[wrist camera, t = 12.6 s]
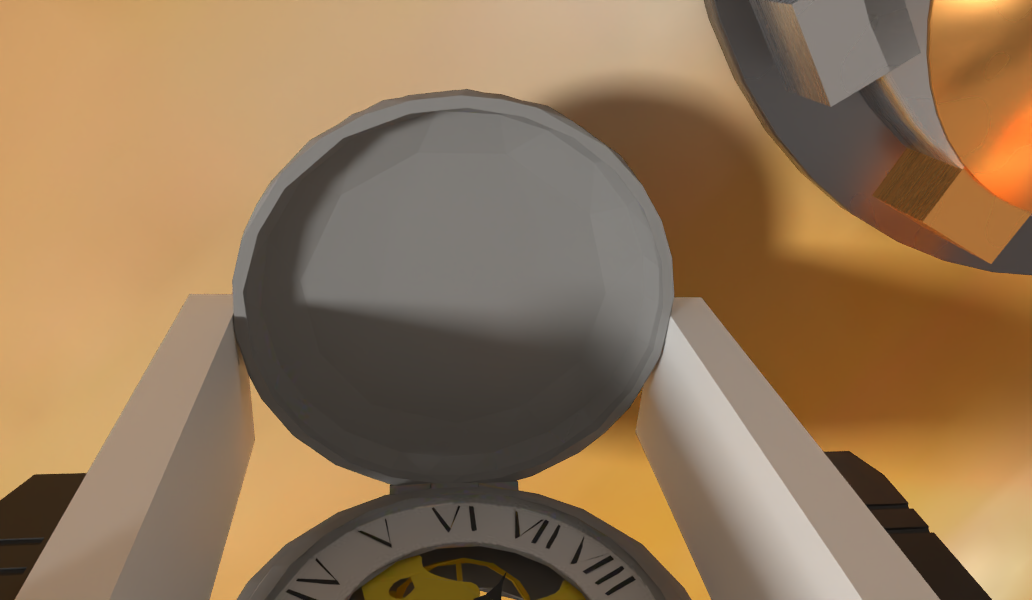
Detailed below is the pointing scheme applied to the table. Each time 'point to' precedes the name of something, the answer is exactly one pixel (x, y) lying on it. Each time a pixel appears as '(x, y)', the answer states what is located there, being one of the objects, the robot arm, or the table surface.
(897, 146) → the base plate
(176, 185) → the table surface
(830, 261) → the table surface
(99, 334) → the table surface
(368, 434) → the pocket watch
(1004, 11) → the sprocket
